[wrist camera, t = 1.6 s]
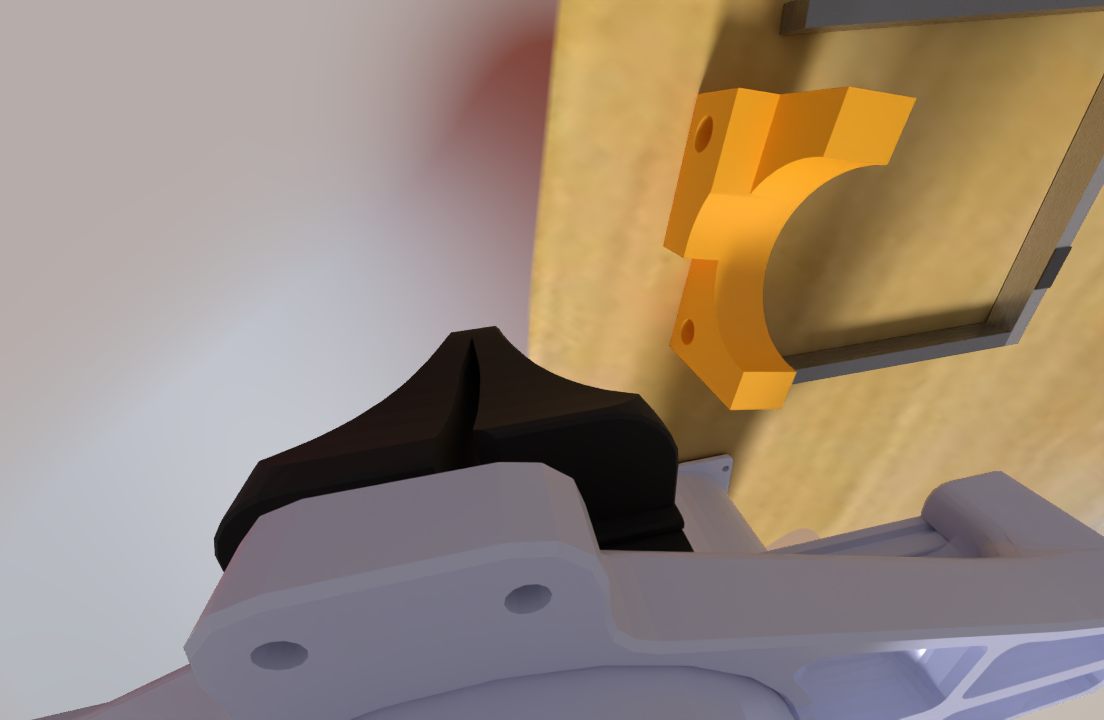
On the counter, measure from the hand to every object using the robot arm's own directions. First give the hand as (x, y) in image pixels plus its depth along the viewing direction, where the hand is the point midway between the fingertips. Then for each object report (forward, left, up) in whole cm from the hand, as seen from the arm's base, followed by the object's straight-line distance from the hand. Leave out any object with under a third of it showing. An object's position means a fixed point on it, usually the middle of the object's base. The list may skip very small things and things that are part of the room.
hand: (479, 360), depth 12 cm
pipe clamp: (0, -12, -10) cm, 15 cm away
